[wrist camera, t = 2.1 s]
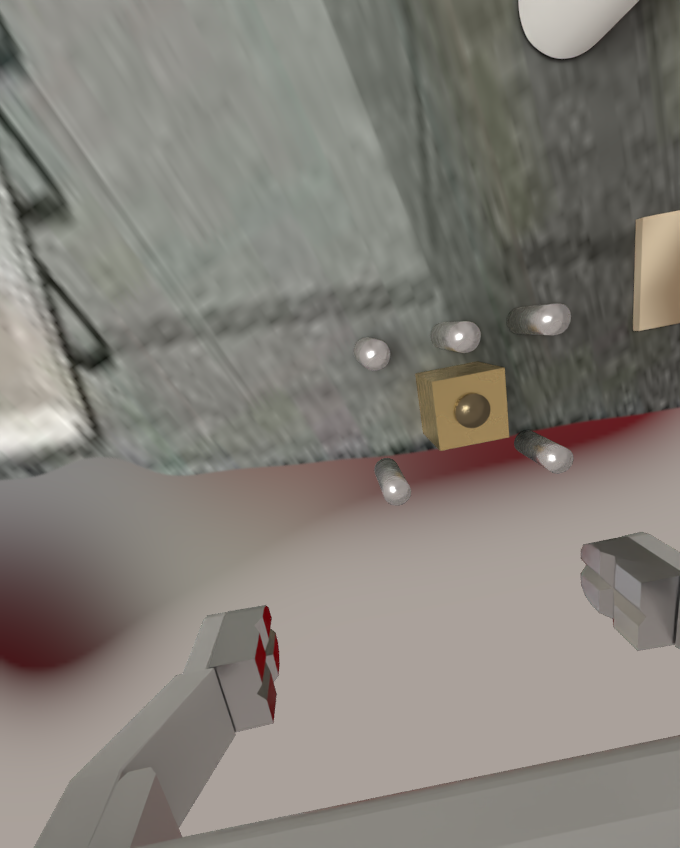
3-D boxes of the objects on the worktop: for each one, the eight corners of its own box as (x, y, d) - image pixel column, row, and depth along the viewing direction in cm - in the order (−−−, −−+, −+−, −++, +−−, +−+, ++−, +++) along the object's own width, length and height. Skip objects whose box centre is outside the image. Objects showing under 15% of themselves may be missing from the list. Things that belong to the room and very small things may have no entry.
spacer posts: (531, 304, 28) (570, 300, 23) (538, 450, 31) (573, 470, 27) (351, 339, 28) (357, 342, 23) (376, 482, 31) (385, 507, 27)
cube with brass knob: (476, 361, 29) (506, 368, 24) (481, 421, 30) (511, 438, 26) (414, 373, 29) (433, 382, 24) (422, 432, 30) (441, 452, 26)
